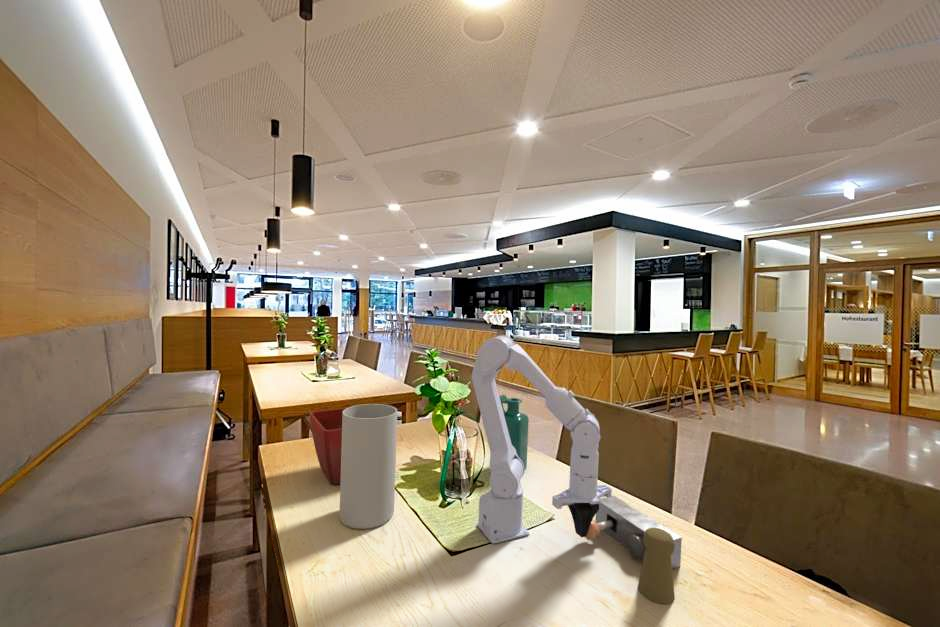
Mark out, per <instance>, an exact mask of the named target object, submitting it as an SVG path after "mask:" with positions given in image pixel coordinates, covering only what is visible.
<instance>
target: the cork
mask: <svg viewBox="0 0 940 627" xmlns="http://www.w3.org/2000/svg"><path fill="white" fill-rule="evenodd" d="M643 543H644V546H645V547H646V548H645V553H644V558H643V560H642V564H641V570H640V574H639V580H638V584H637V588H638V591H639V592H640V594H641V595H642V596H643V597H644V598H646V599H647V600H649V601H650V602H652V603H656V604H659V605H670V604H672V603H674V601H675V599H676V598H675V588H674V576H673V570H672V563H671V554H673V551H674V549H675V544H674V540H673V538H672V536H671V535H670V534H669V533H668V532H666V531H664V530H662V529H659V528H648V529H647V530H646V531H645V532H644V534H643Z"/></svg>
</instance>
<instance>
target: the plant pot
mask: <svg viewBox="0 0 940 627" xmlns="http://www.w3.org/2000/svg"><path fill="white" fill-rule="evenodd" d="M346 408H347V407H342V408H335V409H334V408H333V409H324V410H315V411H310V412H309V422H310V429H311V435H312V440H313V446H314V449H315V453H316V458H317V461H318V463H319V464H318V465H319V466H320V470H321V471H322V473H323V474H324V476H325V477H326V479H327V481H328V482H329V484H330V485H332V486H337V485H340V482H341V448H342V414H343V410H345V409H346Z"/></svg>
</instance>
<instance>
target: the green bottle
mask: <svg viewBox="0 0 940 627" xmlns="http://www.w3.org/2000/svg"><path fill="white" fill-rule="evenodd" d="M499 397H500V401H501V405H502V409H503V413H504V417H505V421H506V425H507V428H508V432H509V436H510V440H511V444H512V445H513V447H514V448H515V449H516V452H517V455H518V457H519V458H520V459H521V461H522V462H523V464H524V469H526V468H527V465H528V464H527V463H528V444H529V440H528V439H529V423H530V422H529V417H528V415H527V414H525V413H523V412H520V404H521V403H523V400H522V399H520V398H517V397H507V396H506V395H505V394H501V395H500V394H499ZM504 404H507V410H505V409H504Z"/></svg>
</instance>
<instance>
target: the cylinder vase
mask: <svg viewBox="0 0 940 627" xmlns="http://www.w3.org/2000/svg"><path fill="white" fill-rule="evenodd" d="M345 408H346V409H345V410H343V414H342V448H341V482H340V484H339V488H340V490H339V519H340V521H341V522H342V524H343V525H345V526H347V527H348V528H352V529H355V530H356V529H358V530H366V529H367V530H368V529H373V528H377V527H381V526H382V525H384V524H386V523H387V522H388V521H389V520H391V518H392V517H393V515H394V513H395V495H396V494H395V492H396V491H395V489H396V487H395V486H396V464H397V463H396V461H397V458H396V457H397V433H398V432H397V431H398V408H396V407H395V406H392V405H390V404H382V403H364V404H357V405H352V406H350V407H345Z"/></svg>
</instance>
